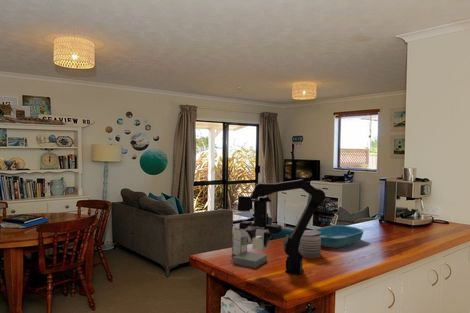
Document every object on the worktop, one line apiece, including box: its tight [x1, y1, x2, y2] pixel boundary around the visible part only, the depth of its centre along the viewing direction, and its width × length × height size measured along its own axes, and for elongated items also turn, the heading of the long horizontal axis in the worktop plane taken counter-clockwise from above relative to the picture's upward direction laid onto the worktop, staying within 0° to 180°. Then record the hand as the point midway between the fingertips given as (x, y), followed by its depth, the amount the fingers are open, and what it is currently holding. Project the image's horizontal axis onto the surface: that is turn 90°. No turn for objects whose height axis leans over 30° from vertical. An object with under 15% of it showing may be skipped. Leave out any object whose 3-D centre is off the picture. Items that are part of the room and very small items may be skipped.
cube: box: [251, 235, 268, 252], centre depth 158 cm, size 5×5×5 cm
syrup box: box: [231, 224, 248, 256], centre depth 184 cm, size 6×6×14 cm
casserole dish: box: [313, 224, 364, 249], centre depth 211 cm, size 37×22×7 cm, turn 131°
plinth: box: [232, 250, 268, 269], centre depth 170 cm, size 12×12×3 cm
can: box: [299, 229, 322, 259], centre depth 184 cm, size 11×11×12 cm
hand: (259, 246), depth 158 cm, fingers closed on cube, 5 cm apart
